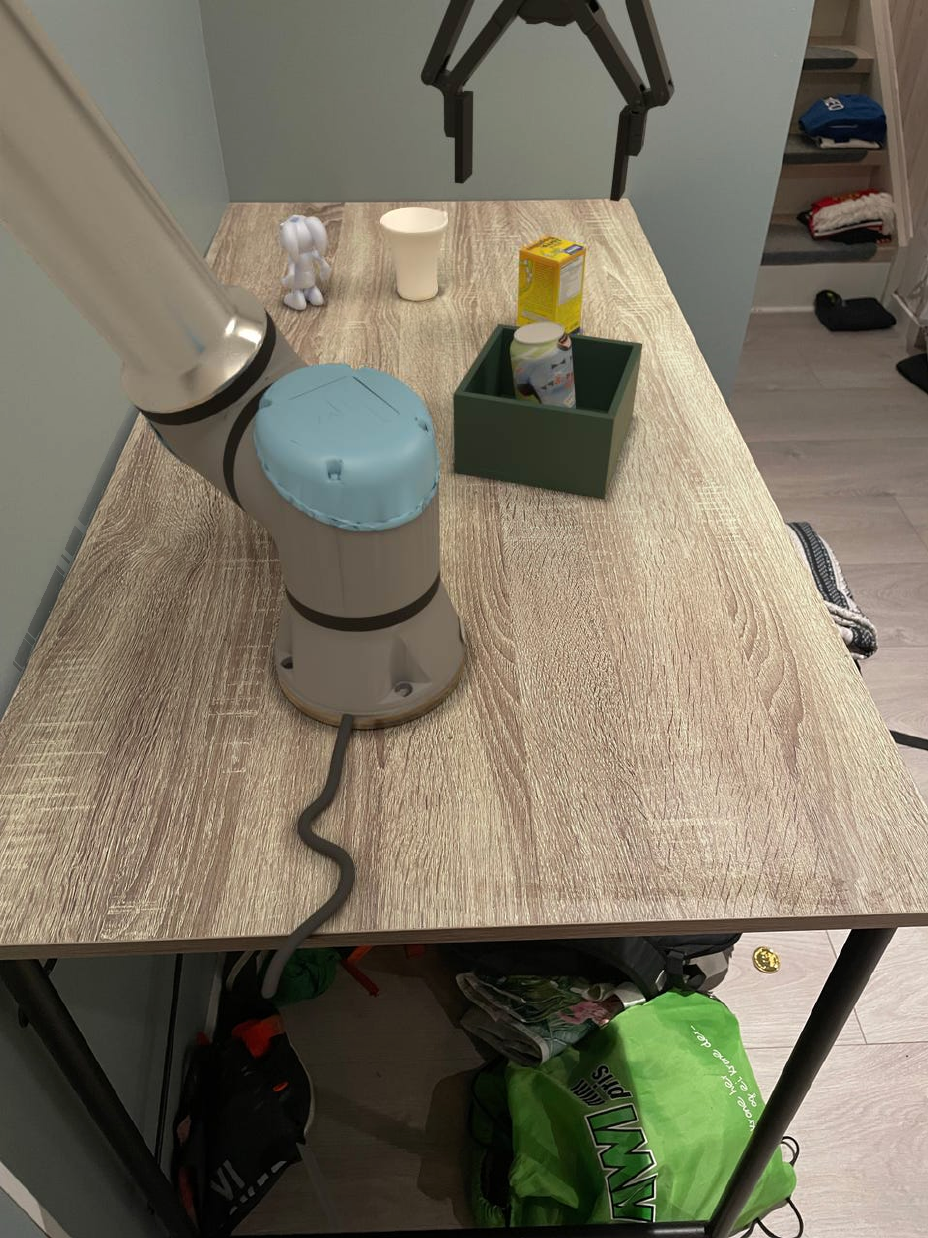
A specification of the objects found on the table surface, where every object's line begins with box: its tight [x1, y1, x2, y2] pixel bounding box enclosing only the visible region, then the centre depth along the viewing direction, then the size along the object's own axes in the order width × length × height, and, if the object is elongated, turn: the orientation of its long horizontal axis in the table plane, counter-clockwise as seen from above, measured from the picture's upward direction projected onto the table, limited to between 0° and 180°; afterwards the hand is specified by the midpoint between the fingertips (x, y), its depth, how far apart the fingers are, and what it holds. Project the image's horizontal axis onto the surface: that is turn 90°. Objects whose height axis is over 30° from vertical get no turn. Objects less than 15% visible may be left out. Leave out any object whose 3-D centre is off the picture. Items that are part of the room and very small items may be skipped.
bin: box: [452, 323, 643, 500], centre depth 94 cm, size 16×16×9 cm
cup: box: [379, 206, 449, 302], centre depth 122 cm, size 9×9×10 cm
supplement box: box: [516, 234, 587, 334], centre depth 112 cm, size 6×6×11 cm
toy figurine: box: [278, 214, 332, 311], centre depth 118 cm, size 7×6×12 cm
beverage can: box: [510, 321, 576, 409], centre depth 92 cm, size 6×7×12 cm
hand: (539, 187), depth 78 cm, fingers open, 13 cm apart
